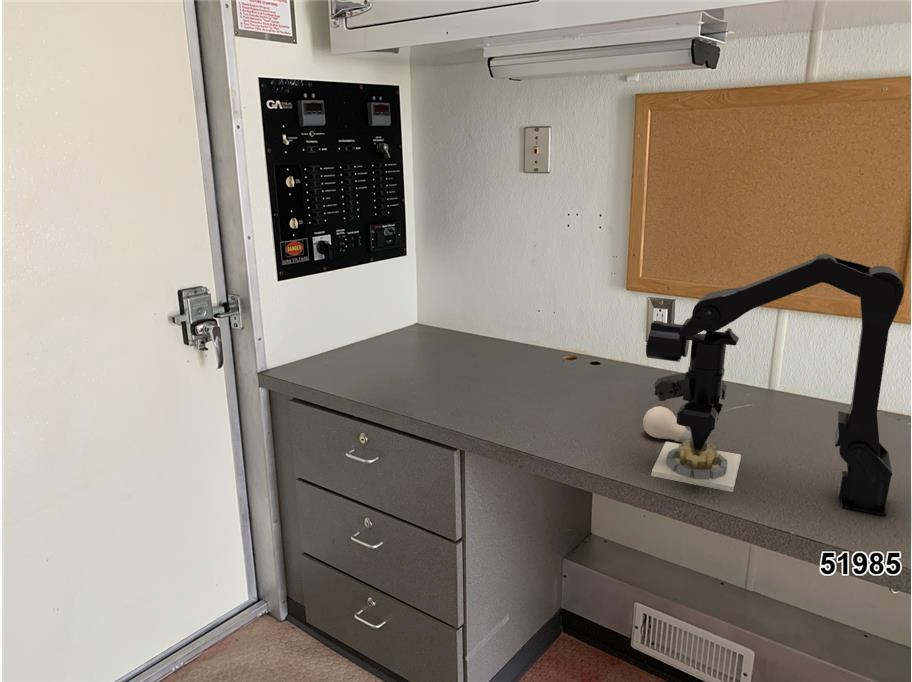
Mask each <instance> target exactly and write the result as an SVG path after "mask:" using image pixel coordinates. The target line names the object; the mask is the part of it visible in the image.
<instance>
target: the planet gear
mask: <svg viewBox="0 0 912 682" xmlns="http://www.w3.org/2000/svg"><path fill="white" fill-rule="evenodd" d="M708 440H709V437H708V438H707V440H706V442H705V444H704V445H703V447H702V449H701V450H695V449H694V445H693V439H692V434H691V438H690V441H689V440H688V441H684V443H678V444H679V447H678V458H677V459H680V463H681V464H682V465H687V466H690V467H691V468H693V469H697V468H705V469H711V467H712V466H713V465H715V466H716V465H717V457H718V451H719V450H717V449H716V445H714V444H712V443H711V444H710V443H708Z"/></svg>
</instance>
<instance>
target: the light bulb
mask: <svg viewBox="0 0 912 682" xmlns="http://www.w3.org/2000/svg"><path fill="white" fill-rule="evenodd" d="M642 419H643V421H642V424H643V425H642V426H643V429H644V430H645V432H646V433H647V435H649V436H651V437H652V438H656V439H662V440H664V439H666V440H673V441H675V442H680V443H681V444H683V443H684V441H688V440H689V441H690V438H691V430H688V429H687V428H686V427H687V426H681V425H678V424H676V423H677V416H675V414H674V413H673V411H672V410H670V409H669V408H668V407H664V406H661V405H660V406H654V407H652V408H650V409H648V410H647V411H646V413H645V414H644V416H643V417H642Z"/></svg>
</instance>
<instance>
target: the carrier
mask: <svg viewBox="0 0 912 682" xmlns="http://www.w3.org/2000/svg"><path fill="white" fill-rule="evenodd" d="M679 444H680V443H677V442H672V441H671V442H670V441H665V442H664V444H663V447H662V449H661V451H660V453H659V455H658V457H657V459H656V460H655V464H654V465H653V467H652V470H651V474H650V475H651V477H655V478H659V479H666V480H671V481H676V482H680V483H686V484H689V485H690V484H691V485H695V486H699V487H706V488H711V489H715V490H721V491H726V492H730V493H734V490H735V485H736V481H737V476H738V473H739V469H740V468H739V467H740V464H741V459H742V454H739V453H733V452H728V451H721V450H718V457H717V465H716V466H715V465H713V466H712V467H711V469H705V468H697V469H693V468H691V467H690V466H687V465H682V464H681V463H680V459H677V458H678V447H679Z"/></svg>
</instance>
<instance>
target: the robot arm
mask: <svg viewBox="0 0 912 682" xmlns="http://www.w3.org/2000/svg"><path fill="white" fill-rule="evenodd" d="M821 283H822V284H823V283H824V284H827V285H829V286H831V287H834V288H837V289H839V290H841V291H843V292H845V293H848V294H849V295H853V296H855V297H858V298H859V302H860V316H861V327H860V328H861V329H860V336H859V344H858V351H857V359H856V366H855V374H854V381H853V390H852V395H851V402H850V405H849V407H848V410H847V412H844V411H841V410H838V411H837V427H836V429H835V430H834V435H835V436H834V447H836V448H839V450H838V451H839V456H840V459H842V460H843V461H844V462H845V463H846V467H845V470H843V471H841V473H840V479H839V484H838V491H837V493H838V499H839V500H840V501H841V503H840V505H841V507H842V508H843V509H847V510H853V511H858V512H863V513H868V514H873V515H879V516H884V517H885V516H887V515H888V510H887V502H888V498H889V497H888V496H889V491H890V487H891V479H892V476H893V471H892V470H893V469H892V464H891V456H890V453H889V451H888V450H887V448H886V447H885V446H883V445H882V443H881V442H880V435H879V433H880V432H879V424H878V423H879V422H878V407H879V406H878V405H879V402H880V401H879V399H880V393H881V386H882V380H883V373H884V366H885V359H886V352H887V346H888V345H887V344H888V339H889V338H888V337H889V332H890V328H891V326H892V324H893V323H894V320H895V318H896V316H897V314H898V311H899V308H900V305H901V303H902V301H903V300H902V299H903V297H904V294H905V286H904V284H903V282H902V279H901V276H900V275H899V273H898V272H897V271H896V270H895V268H892V267H889V266H887V265H876V266H873V267H870V266H867V265H865V264H862V263H858V262H855V261H850V260H846V259H841V258H838V257H835V256H834V255H831V254H829V253H821V254H818V255H816V256H815V257H813V258H812V259H810V260H807V261H805V262H804V261H803V262H801V263H800V264H797V265H794V266H792V267H789V268H787V269H784V270H782V271H779V272H777V273H774V274H771V275H769V276H767V277H764V278H761V279H759V280H757V281H755V282H752V283H749V284H747V285H744V286H740V287H739V286H738V287H734V288H725V289H721V290H717V291H712V292H708V293H706V294H704V295H703V296H702V297H700V299H698V301H697V302H696V304H695V305H694V306H693V309H692V315H691V317H690V318H689V317H688V318H687V319H686V320H685V321H684V323H682V324H678V323H669V322H663V321H660V320H653V321H652V323H650V329H649V333H648V338H647V341H646V343H645V344H646V345H645V356H646V358H647V359H653V360H654V359H655V360H659V361H660V360H662V361H668V362H669V361H670V362H677V363H680V361H682V360H681V359H682V358H686V357H688V354H689V353H688V352H689V347H691V348H690V359H689V366H688V369H687V371H686V372H684V373H677V374H671V375H667V376H662V377H659V378H657V379H656V381H655V382H654V385H653V386H654V395H655V396H657V400H658V401H659V402H665V401H666V400H671V399H676V398H681V397H682V401H685V403H684V404H683V405H681V406H680V407H679V409H678V411H677V414H676V418H677V423H676V424H678V425H681V426H684V427H689V428H690V432H691V434H692V439H693V445H694V449H695V450H701V449H702V447H703V445H704V444H705V442H706V440H707V438H708V439H709V438H710V435H711V433H713V430H715V429H716V426H717V423H718V420H719V415H720V413H721V412H722V409H723V406H724V405H723V403H720V401H721V400H723V401H724V400H726V397H727V391H728V390H727V389H728V385H726V383H725V382H724V380H723V377H724V375H725V367H724V366H725V359H726V350H727V347H726V346H736V345H737V344H738V342H739V339H740V338H739V336H737V335H736V334H735V333H734V332H733V330H732V328H731V327H728V328H727V329H726V330H725V331H719V330H721V329H723V328H725V327H726V326H727V325H729V324H731V323H733V322H735V321H736V320H738V319H739V318H740V317H742V316H743V315H744V314H746V313H748V312H750V311H751V310H753V309H756V308H759V307H761V306H764V305H766V304H770V303H771V302H774V301H778V300H779V299H782V298H785V297H787V296H790V295H793V294H795V293H797V292H800V291H802V290H805V289H809V288H811V287H814V286H816V285H819V284H821ZM704 331H705V333H701V332H704ZM690 341H691V345H690Z"/></svg>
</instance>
